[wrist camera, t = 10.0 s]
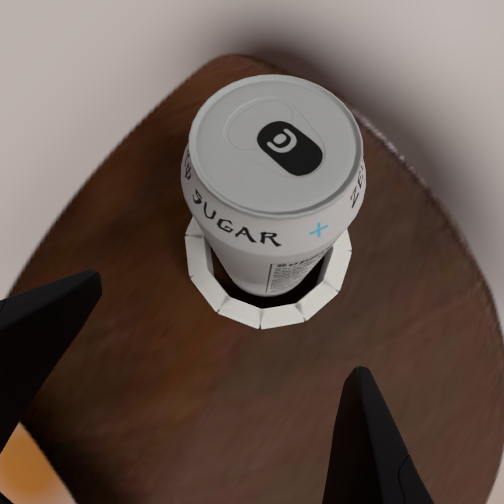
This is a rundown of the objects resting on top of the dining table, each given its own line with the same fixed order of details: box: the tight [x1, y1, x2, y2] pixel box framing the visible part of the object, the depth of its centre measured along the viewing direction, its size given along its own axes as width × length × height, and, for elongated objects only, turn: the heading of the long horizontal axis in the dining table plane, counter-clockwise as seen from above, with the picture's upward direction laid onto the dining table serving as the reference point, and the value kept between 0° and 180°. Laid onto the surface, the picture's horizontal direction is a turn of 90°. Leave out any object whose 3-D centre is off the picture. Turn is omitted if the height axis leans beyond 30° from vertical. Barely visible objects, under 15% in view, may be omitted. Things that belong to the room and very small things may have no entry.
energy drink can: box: [181, 74, 366, 297], centre depth 15 cm, size 6×6×15 cm
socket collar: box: [185, 216, 352, 329], centre depth 21 cm, size 10×10×3 cm
